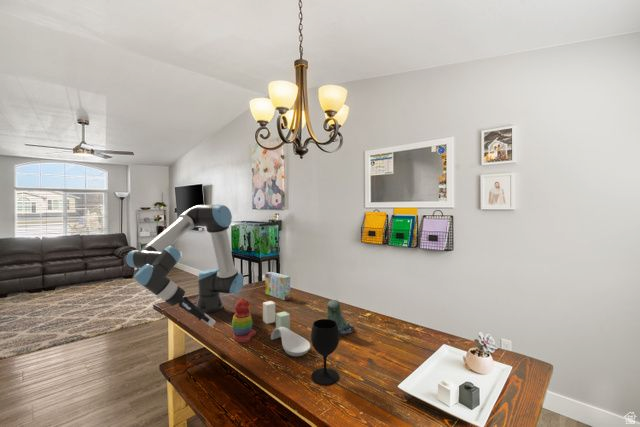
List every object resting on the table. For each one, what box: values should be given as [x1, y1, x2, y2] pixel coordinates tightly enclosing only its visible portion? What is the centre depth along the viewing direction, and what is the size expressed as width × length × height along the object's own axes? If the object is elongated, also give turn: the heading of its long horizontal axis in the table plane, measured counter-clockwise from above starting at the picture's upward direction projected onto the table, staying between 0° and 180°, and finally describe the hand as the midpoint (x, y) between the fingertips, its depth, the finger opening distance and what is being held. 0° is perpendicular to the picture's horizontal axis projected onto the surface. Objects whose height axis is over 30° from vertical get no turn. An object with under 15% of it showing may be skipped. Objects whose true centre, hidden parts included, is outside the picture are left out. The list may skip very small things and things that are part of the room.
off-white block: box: [262, 300, 276, 325], centre depth 159 cm, size 5×5×10 cm
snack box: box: [264, 271, 291, 301], centre depth 201 cm, size 21×6×15 cm, turn 46°
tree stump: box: [326, 299, 355, 337], centre depth 148 cm, size 18×20×18 cm
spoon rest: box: [270, 327, 312, 357], centre depth 131 cm, size 24×12×7 cm, turn 41°
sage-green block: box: [275, 310, 291, 338], centre depth 144 cm, size 5×5×10 cm
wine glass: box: [310, 318, 340, 386], centre depth 109 cm, size 10×10×20 cm
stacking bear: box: [231, 298, 257, 344], centre depth 141 cm, size 11×10×18 cm
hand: (213, 323), depth 132 cm, fingers closed
